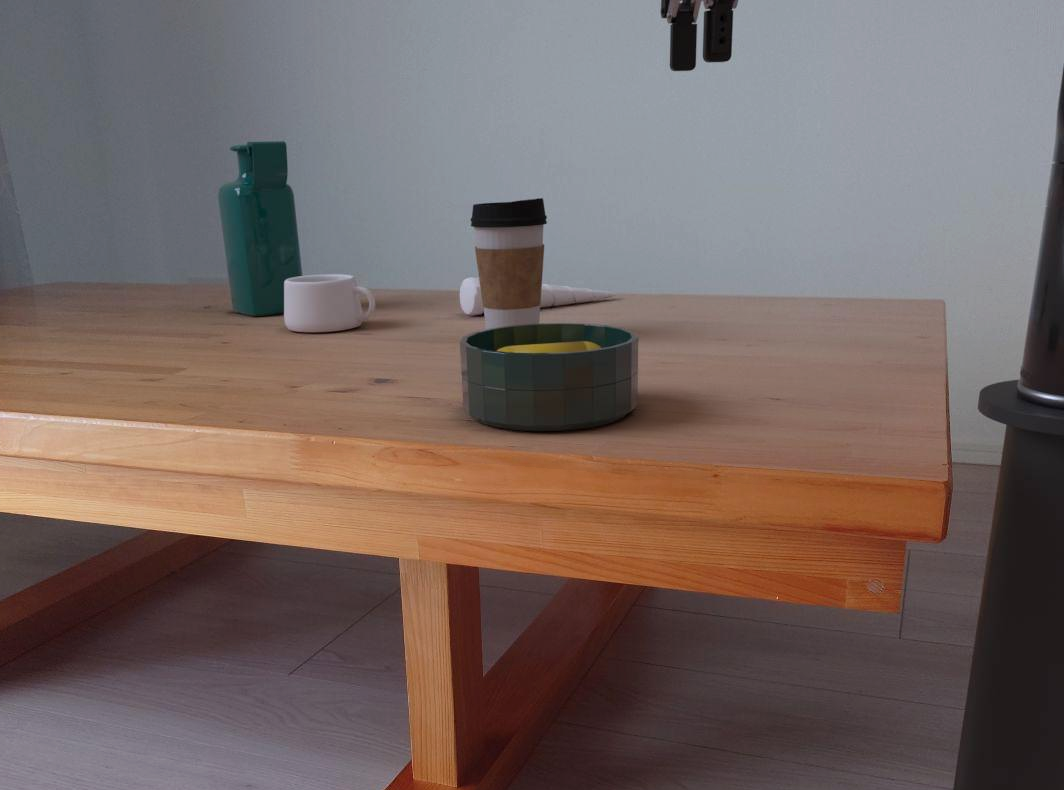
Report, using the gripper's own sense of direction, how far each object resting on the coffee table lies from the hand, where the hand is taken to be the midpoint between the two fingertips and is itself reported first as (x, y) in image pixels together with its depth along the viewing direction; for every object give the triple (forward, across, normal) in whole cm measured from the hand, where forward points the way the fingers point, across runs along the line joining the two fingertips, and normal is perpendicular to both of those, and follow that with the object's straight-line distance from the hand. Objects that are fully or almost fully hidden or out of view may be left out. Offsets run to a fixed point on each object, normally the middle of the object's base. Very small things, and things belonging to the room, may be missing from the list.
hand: (698, 66), depth 86 cm
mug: (+26, +39, +33) cm, 57 cm away
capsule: (+23, -12, +16) cm, 31 cm away
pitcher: (+26, +56, +41) cm, 75 cm away
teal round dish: (+26, -12, +16) cm, 33 cm away
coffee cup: (+26, +24, +13) cm, 38 cm away
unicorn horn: (+26, +46, +6) cm, 53 cm away
